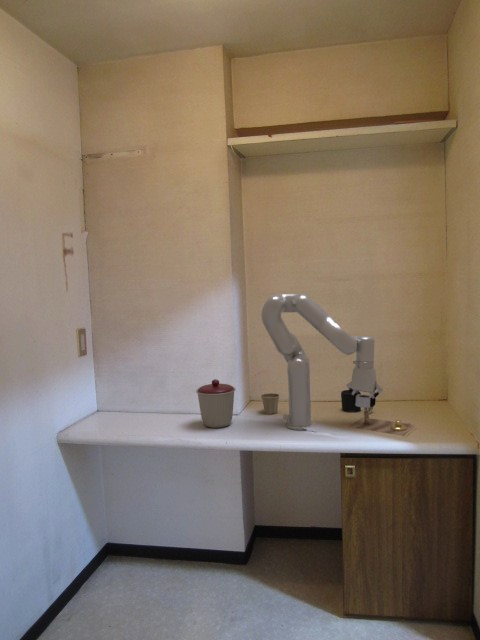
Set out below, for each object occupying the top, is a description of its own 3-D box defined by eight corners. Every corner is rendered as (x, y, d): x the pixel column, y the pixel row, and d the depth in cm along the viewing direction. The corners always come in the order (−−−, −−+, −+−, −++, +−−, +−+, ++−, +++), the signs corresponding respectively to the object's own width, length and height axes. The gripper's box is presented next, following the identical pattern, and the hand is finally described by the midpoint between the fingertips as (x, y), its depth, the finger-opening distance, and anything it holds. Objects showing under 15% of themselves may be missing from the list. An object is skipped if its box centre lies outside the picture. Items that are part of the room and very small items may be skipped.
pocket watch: (383, 419, 222) (383, 397, 221) (364, 419, 223) (364, 397, 222) (382, 414, 230) (381, 393, 229) (363, 414, 231) (363, 393, 230)
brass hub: (387, 429, 203) (387, 421, 203) (393, 425, 209) (393, 417, 208) (403, 431, 199) (403, 423, 199) (409, 427, 205) (408, 419, 204)
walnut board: (348, 429, 209) (348, 426, 209) (363, 420, 222) (363, 417, 222) (403, 438, 195) (403, 435, 195) (416, 428, 207) (416, 425, 207)
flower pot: (261, 410, 246) (260, 393, 245) (279, 409, 246) (279, 392, 245) (261, 415, 237) (260, 397, 236) (280, 414, 236) (280, 397, 236)
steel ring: (352, 405, 212) (353, 396, 211) (359, 402, 217) (359, 393, 217) (368, 408, 207) (368, 399, 207) (374, 404, 213) (374, 395, 212)
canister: (242, 420, 230) (240, 376, 228) (229, 431, 213) (227, 384, 211) (206, 418, 236) (204, 375, 234) (191, 429, 219) (189, 383, 217)
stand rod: (363, 423, 212) (363, 411, 212) (365, 422, 214) (365, 410, 214) (367, 424, 211) (367, 412, 211) (369, 423, 213) (369, 411, 212)
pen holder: (337, 412, 236) (337, 392, 235) (349, 408, 242) (348, 388, 241) (353, 416, 229) (353, 395, 228) (365, 412, 235) (364, 391, 234)
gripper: (342, 363, 213) (341, 403, 214) (381, 368, 202) (379, 410, 204) (349, 361, 219) (349, 400, 220) (387, 365, 208) (386, 406, 210)
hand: (363, 404), depth 212 cm, fingers closed on steel ring, 7 cm apart
